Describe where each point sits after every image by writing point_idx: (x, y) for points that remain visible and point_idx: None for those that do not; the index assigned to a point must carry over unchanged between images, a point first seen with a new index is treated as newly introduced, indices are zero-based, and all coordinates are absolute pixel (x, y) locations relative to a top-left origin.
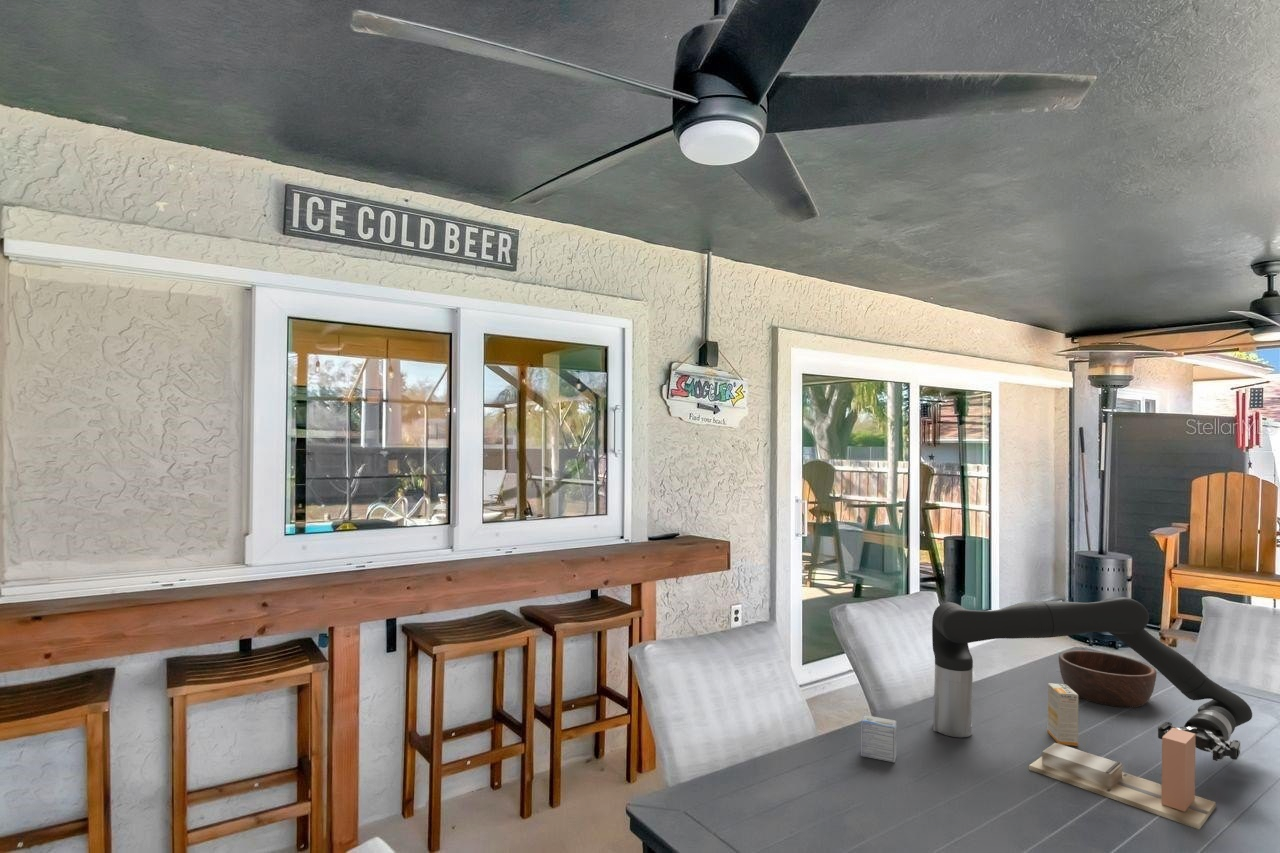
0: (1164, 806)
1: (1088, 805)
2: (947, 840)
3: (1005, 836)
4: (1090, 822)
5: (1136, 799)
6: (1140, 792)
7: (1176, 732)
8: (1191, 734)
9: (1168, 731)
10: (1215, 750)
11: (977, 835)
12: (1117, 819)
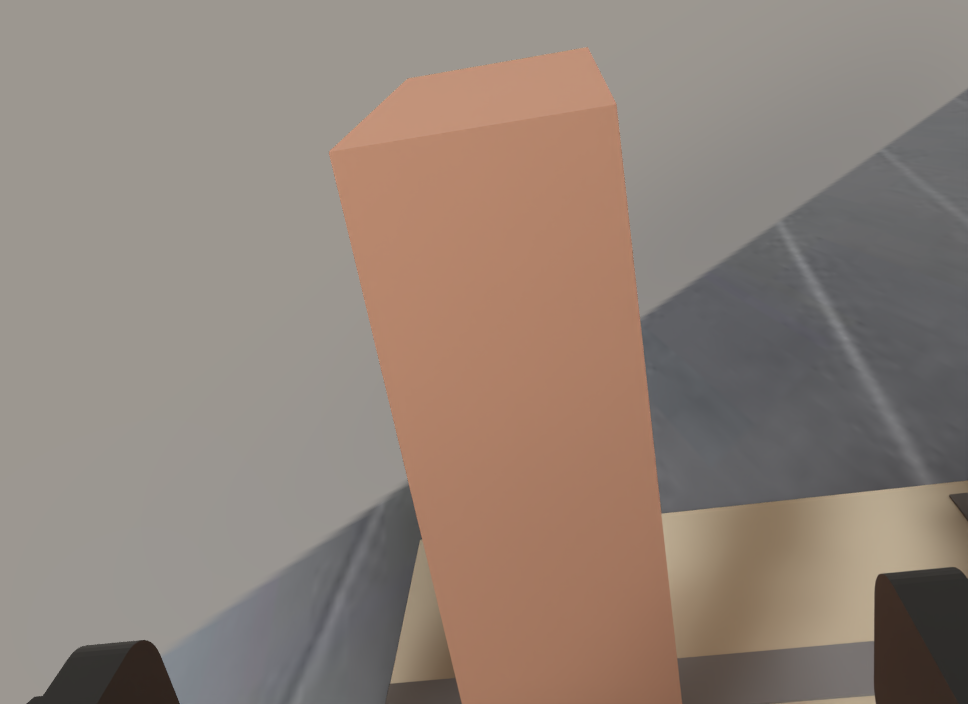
0: None
1: (901, 397)
2: (891, 148)
3: (846, 197)
4: (781, 331)
5: (786, 530)
6: (847, 635)
7: (527, 93)
8: (374, 131)
9: (600, 73)
10: (99, 647)
11: (882, 174)
12: (737, 398)
